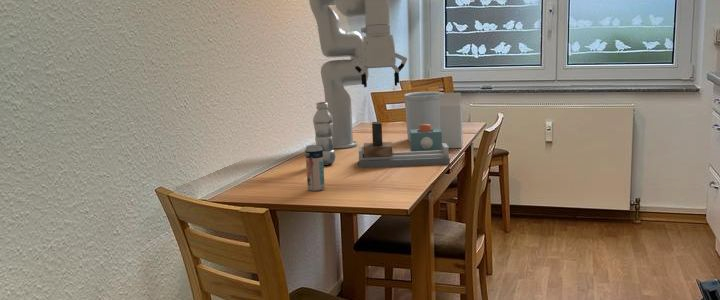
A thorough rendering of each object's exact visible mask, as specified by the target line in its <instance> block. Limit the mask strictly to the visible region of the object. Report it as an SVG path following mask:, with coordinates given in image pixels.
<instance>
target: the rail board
mask: <svg viewBox="0 0 720 300" xmlns="http://www.w3.org/2000/svg"><path fill="white" fill-rule="evenodd" d="M449 149H450V148H449V147H448V145H447V144H446V143H442V150H436V151H413V152H411V151H395V152H393V156H379V157H364V152H363V146H359V147H358V168H359V169H367V168H368V169H371V168H389V167H395V168H396V167H415V166H417V167H418V166H435V165H436V166H437V165H438V166H439V165H443V166H444V165H450V164H451V158H450V153H449V152H450V150H449Z"/></svg>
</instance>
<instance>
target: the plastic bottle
mask: <svg viewBox="0 0 720 300" xmlns="http://www.w3.org/2000/svg"><path fill="white" fill-rule="evenodd" d="M327 108H328V102H325V101H323V102H322V101H321V102H316V109H317V110H316V112H315V114H314V115H313V119H312V123H313V128H314V133H315V136H316V141H315V145H321V147H322V149H323V166H329V165H331V164H334V162H335V161H336V152H335V148H333V141H332V127H333V117H332V115H331V114H330V112H329V111H328V109H327Z"/></svg>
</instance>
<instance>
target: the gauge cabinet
mask: <svg viewBox="0 0 720 300" xmlns="http://www.w3.org/2000/svg"><path fill="white" fill-rule="evenodd" d="M409 142H410V148H409V149H410V152H413V151H436V150H442V132H441V130H440V129H439V128H437V129H431V132H419V129H415V130H410V141H409Z"/></svg>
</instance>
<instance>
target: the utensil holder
mask: <svg viewBox="0 0 720 300" xmlns="http://www.w3.org/2000/svg"><path fill="white" fill-rule="evenodd" d="M440 93H444V92H441V91H418V92H416V91H414V92H409V93H405V94H404V97H403V98H404V104H405V118H406V119H405V122H406V133H407V140H408V142H410V130H415V129H419V125H420V124H431V129H437V128H439V129H440Z"/></svg>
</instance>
